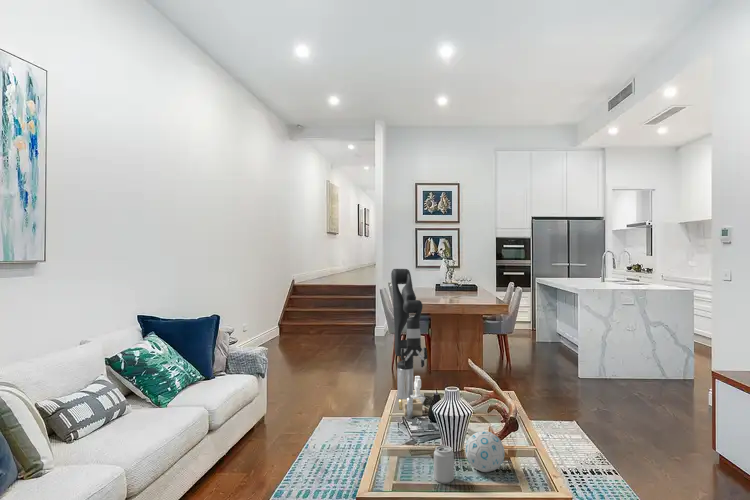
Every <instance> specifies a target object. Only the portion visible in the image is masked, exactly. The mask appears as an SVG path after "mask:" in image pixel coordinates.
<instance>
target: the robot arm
mask: <svg viewBox="0 0 750 500" xmlns="http://www.w3.org/2000/svg"><path fill="white" fill-rule="evenodd" d="M390 276H391V278H390V280H391V287H392V302H393V309H392V310H393V323H394V324H393V325H394V355H395V356H396V357H400V359H401V360H400V361H398V362H397V364H396V367H397V368H396V369H397V373H396V374H397V375H396V377H397V384H396V385H397V392H396V393H397V398H398V400H399V399H407V398H408V397H411V396H410V395H414V357H419V359H421V360H420V367H421V368H424V366H425V360H427V359H428V348H427V347H426V346H425V347H422V345H421V344H422V343H421V338H422V336H421V335H422V334H421V324H420V322H421V321H420V320H421V316H422V311H423V302H422V301H421V300H420V299H418V300H417V296H416V294H415V291H414V287H413V282H412V281H413V279H412V276H411V271H410V270H409V269H407V268H393V269H392V270H391V274H390ZM399 285H404V286H403V287H402V289H401V290H400V288H399ZM410 314H415V315H414V316H411V317H410ZM405 326H406V339H401V335H402V333H403V330H404V328H405ZM421 352H423V354H422V353H421ZM423 355H424V356H423Z"/></svg>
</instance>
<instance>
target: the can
mask: <svg viewBox="0 0 750 500" xmlns="http://www.w3.org/2000/svg"><path fill="white" fill-rule="evenodd" d="M433 478H434V480H436V481H437V482H438V483H440V484H450V483H451V482H452V481H453V480H454V479H455V453H454V451H453V449H452V447H451V446H448V445H438V446H436V447H435V449H434V452H433Z"/></svg>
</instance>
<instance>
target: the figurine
mask: <svg viewBox="0 0 750 500" xmlns="http://www.w3.org/2000/svg"><path fill="white" fill-rule="evenodd" d="M421 389H422V379H421V376H420V375H415V376H414V380H413V391H415V392H414V393H415V394H413V395H410V396H411V397H412V398H413V399H420V401H421V402H422V405H423V403H424V402H425V400H426V396H424V394H423V393H421Z"/></svg>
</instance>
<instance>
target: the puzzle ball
mask: <svg viewBox="0 0 750 500" xmlns="http://www.w3.org/2000/svg"><path fill="white" fill-rule="evenodd" d="M464 452H465V453H464V454H465V456H466V459H467V461H468V463H469V464H470V466H472V468H474V469H476V470H478V471H480V472H482V473H490V472H493V471H495V470H497V469H499V468H500V467H501V466H502V464H503V462H504V459H505V447H504V445H503V443H502V441H501V438H500V437H499V436H497V435H496V434H494V433H492V432H491V431H486V430H483V431H476V432H475V433H473V434H472V435H471V436H470V437H469V438H468V439H467V441H466V443H465V451H464Z"/></svg>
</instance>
